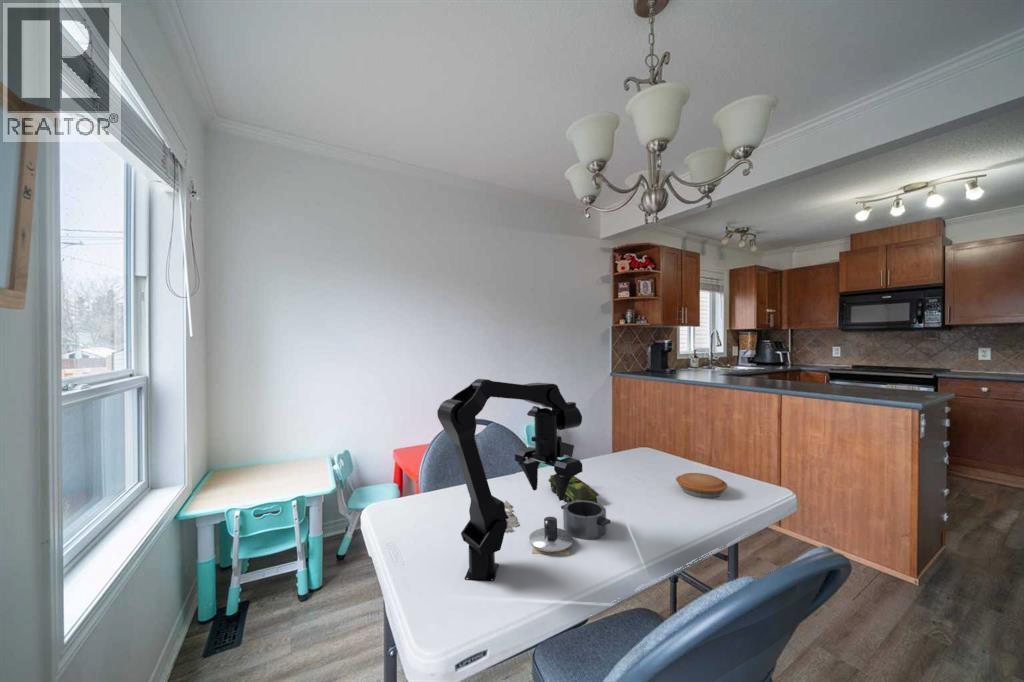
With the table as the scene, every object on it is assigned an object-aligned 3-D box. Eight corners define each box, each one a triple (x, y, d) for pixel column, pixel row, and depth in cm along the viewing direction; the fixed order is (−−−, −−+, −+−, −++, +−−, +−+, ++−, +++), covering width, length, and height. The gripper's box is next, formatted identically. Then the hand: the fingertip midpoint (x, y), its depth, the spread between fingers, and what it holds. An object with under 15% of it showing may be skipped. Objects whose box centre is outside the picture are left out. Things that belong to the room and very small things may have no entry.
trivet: (570, 557, 86) (570, 554, 86) (532, 555, 87) (532, 553, 87) (568, 538, 95) (568, 535, 95) (534, 537, 96) (534, 534, 96)
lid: (574, 557, 85) (573, 530, 86) (527, 555, 87) (527, 529, 87) (572, 534, 96) (571, 510, 96) (530, 533, 97) (530, 509, 98)
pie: (669, 484, 132) (668, 470, 132) (713, 483, 131) (712, 469, 131) (688, 501, 116) (687, 486, 116) (737, 501, 116) (737, 485, 116)
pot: (620, 534, 97) (619, 511, 97) (593, 549, 90) (592, 524, 90) (578, 516, 108) (577, 495, 108) (551, 528, 101) (551, 506, 101)
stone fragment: (496, 543, 96) (532, 535, 99) (496, 532, 96) (531, 525, 99) (475, 504, 120) (504, 499, 123) (475, 495, 120) (504, 491, 123)
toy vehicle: (570, 485, 134) (570, 458, 134) (601, 506, 115) (600, 474, 115) (547, 489, 131) (546, 461, 131) (575, 511, 112) (573, 478, 112)
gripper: (595, 433, 91) (597, 496, 90) (542, 423, 105) (544, 478, 105) (565, 440, 84) (567, 510, 83) (512, 429, 98) (514, 488, 98)
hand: (547, 494), depth 92 cm, fingers open, 9 cm apart
